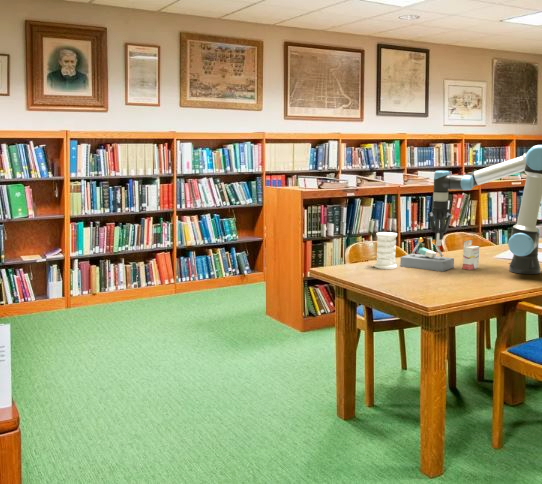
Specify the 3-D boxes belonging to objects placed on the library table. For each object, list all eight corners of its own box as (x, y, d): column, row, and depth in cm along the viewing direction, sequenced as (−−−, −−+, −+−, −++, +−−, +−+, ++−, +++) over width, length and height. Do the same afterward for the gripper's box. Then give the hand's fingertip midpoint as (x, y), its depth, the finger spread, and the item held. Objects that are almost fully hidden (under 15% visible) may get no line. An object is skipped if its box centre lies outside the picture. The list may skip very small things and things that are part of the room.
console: (453, 267, 341) (454, 256, 340) (443, 271, 330) (443, 260, 329) (411, 262, 356) (412, 251, 355) (400, 266, 345) (400, 255, 344)
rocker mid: (435, 256, 342) (436, 252, 341) (431, 258, 338) (432, 254, 337) (422, 251, 346) (423, 247, 345) (418, 252, 342) (419, 248, 342)
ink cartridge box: (470, 270, 334) (472, 242, 332) (462, 269, 337) (463, 241, 335) (478, 268, 340) (480, 240, 338) (470, 266, 343) (471, 239, 341)
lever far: (415, 254, 347) (424, 239, 343) (413, 254, 345) (422, 239, 341) (411, 251, 348) (421, 236, 344) (409, 252, 346) (419, 236, 342)
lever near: (445, 254, 337) (435, 238, 339) (443, 255, 335) (433, 238, 337) (441, 257, 339) (431, 240, 341) (439, 257, 337) (429, 241, 339)
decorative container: (401, 267, 340) (402, 234, 337) (384, 269, 334) (385, 235, 332) (386, 264, 350) (387, 231, 347) (370, 266, 344) (371, 233, 341)
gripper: (455, 200, 333) (453, 245, 336) (431, 199, 341) (429, 243, 344) (449, 201, 327) (447, 247, 330) (425, 200, 335) (424, 245, 338)
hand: (438, 245), depth 337 cm, fingers closed
